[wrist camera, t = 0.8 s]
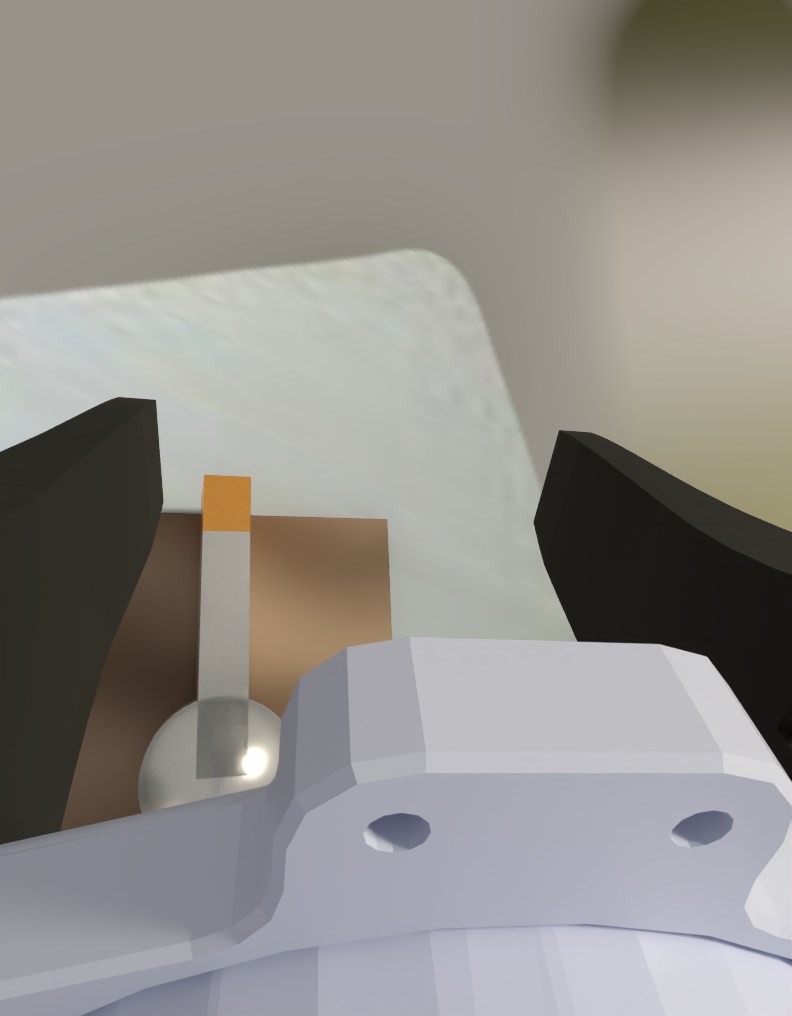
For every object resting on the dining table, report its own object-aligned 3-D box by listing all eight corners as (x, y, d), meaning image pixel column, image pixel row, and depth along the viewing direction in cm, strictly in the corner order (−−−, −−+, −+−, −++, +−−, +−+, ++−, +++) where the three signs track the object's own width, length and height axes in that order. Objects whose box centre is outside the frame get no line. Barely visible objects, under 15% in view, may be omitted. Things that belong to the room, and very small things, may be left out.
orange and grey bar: (285, 831, 25) (301, 853, 21) (140, 848, 23) (133, 874, 20) (285, 502, 28) (298, 479, 24) (155, 497, 26) (152, 472, 23)
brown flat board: (394, 867, 27) (402, 874, 26) (-149, 940, 21) (-163, 952, 20) (382, 523, 30) (388, 518, 29) (-90, 510, 25) (-101, 504, 24)
